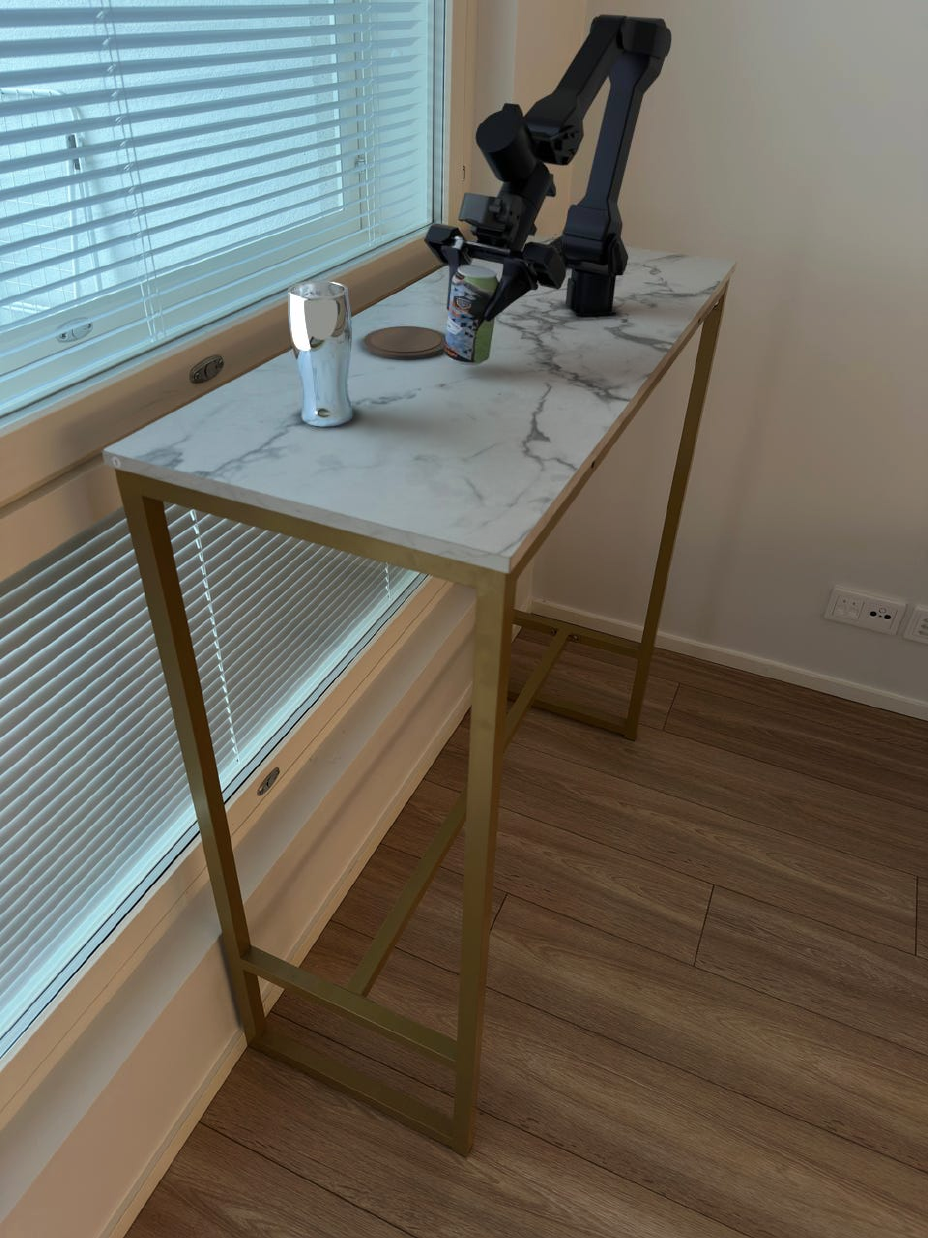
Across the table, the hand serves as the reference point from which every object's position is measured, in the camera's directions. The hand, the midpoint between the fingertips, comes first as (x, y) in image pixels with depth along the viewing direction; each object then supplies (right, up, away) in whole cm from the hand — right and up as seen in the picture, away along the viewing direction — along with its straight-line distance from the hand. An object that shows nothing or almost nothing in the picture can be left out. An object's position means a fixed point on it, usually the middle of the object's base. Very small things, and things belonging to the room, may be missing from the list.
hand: (467, 315), depth 115 cm
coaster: (-9, +1, +14) cm, 16 cm away
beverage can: (+1, -5, +5) cm, 7 cm away
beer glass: (-17, -14, -6) cm, 23 cm away
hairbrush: (+15, +24, +47) cm, 55 cm away
